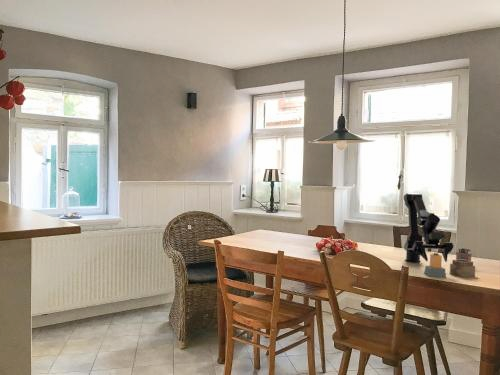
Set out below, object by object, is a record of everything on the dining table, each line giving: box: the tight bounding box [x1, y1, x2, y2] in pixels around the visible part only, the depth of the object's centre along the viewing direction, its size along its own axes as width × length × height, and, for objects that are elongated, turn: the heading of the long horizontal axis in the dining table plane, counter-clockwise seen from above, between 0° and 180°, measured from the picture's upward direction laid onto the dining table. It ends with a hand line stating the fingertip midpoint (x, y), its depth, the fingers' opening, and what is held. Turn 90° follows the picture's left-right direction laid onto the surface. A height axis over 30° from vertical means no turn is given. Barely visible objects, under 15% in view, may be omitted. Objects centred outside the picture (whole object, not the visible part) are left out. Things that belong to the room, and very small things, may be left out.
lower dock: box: [424, 264, 447, 278], centre depth 216 cm, size 8×8×4 cm
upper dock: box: [449, 259, 476, 278], centre depth 219 cm, size 8×8×7 cm
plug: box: [429, 252, 443, 269], centre depth 216 cm, size 4×4×9 cm
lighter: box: [455, 247, 473, 261], centre depth 240 cm, size 8×3×10 cm, turn 45°
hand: (436, 261), depth 215 cm, fingers open, 9 cm apart
